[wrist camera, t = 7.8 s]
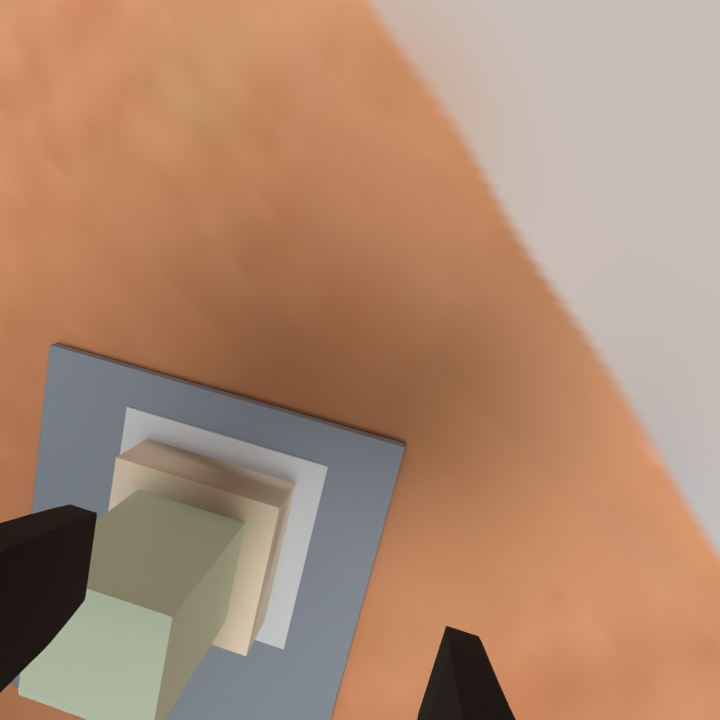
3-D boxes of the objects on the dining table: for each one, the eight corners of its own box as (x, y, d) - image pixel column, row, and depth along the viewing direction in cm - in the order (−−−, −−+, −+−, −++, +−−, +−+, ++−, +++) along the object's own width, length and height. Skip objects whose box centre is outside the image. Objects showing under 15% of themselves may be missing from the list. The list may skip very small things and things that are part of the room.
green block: (123, 587, 20) (17, 694, 15) (137, 489, 19) (30, 569, 14) (225, 621, 20) (150, 742, 15) (245, 522, 19) (172, 617, 14)
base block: (125, 573, 22) (94, 604, 21) (147, 438, 21) (116, 457, 19) (264, 620, 22) (246, 656, 20) (296, 483, 20) (279, 508, 18)
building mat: (19, 679, 25) (10, 687, 25) (57, 343, 22) (48, 345, 21) (312, 786, 24) (309, 797, 23) (406, 443, 20) (404, 448, 19)
